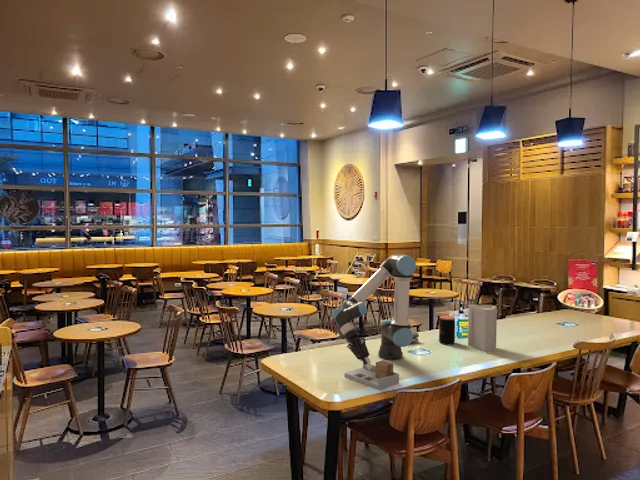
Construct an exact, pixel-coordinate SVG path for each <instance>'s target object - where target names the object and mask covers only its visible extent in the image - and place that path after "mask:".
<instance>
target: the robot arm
mask: <svg viewBox="0 0 640 480" xmlns="http://www.w3.org/2000/svg"><path fill="white" fill-rule="evenodd" d="M416 269H417V263H416V260H415V259H414V257H412V256H410V255H408V254H400V253H393V254H391V255H390V256H388V257H387V258H386V259H385V260H383V262H382V263H381V264H380V265H379V268H378V269H377V271H375V272H374V274H372V275H371V276H370V278H369V279H367V281H365V283H364V284H363V285H362V286H360V287H359V288H358V289H357V291H355V293H354V294H353V295H352V296H350V297H349V298H348V299H346V300H343V302H342V304H341V307H336V308H335V309H334V310H333V311H332V317H333V319H334V321H335V323H336V324H337V326H338V327H339V330H340V331H341V333H342V334H343V336H344V338H345V340H346V342H348V344H347V345H346V348H348V349H349V350H350V352H351V353H352V354H353V355H354V356H355V357H356V359H357V360H359V361H360V362H361V361H362V364H363V363H364V364H365V365H366V367H367V369H368V370H371V369H372V368H373V366H372V365H373V364H372V363H371V360H370V358H369V356H370V352H369V350H368V347H367V343H366V340H365V339H363V340H362V338H360V337H359V333H358V331H357V330H356V328H355V326H354V324H353V323H352V321H354V320H357V319H358V318H360V317H362V316H364V315H365V314H367V313H368V308H367V306H366V303H365V301H366V300H367V299H368V298H369V297H370V296H371V295H373V293H374V292H375V291H376V290H377V289H378V288H379V287H380V286H381V285H383V283H384V282H386V280H388V279H389V278H391V277H392V278H393V279H394V295H393V296H394V301H393V319H384V320H383V319H382V321H381V322H380V323H381V325H380V327H381V328H380V330H381V331H380V335H381V336H380V341H381V343H380V346H379V350H378V353H377V354H378V355H377V356H378V357H379V358H380V359H383V360H389V361H391V360H393V361H396V360H401V359H402V358H403V357H404V353H403V351H402V348H406V347H407V346H409V345H410V344H412V343H411V342H412V340H413V333H412V331H413V330H411V322H410V321H409V305H410V304H409V303H410V282H411V280H412V279H413V275H414V273H415V272H416Z"/></svg>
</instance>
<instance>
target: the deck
mask: <svg viewBox="0 0 640 480" xmlns="http://www.w3.org/2000/svg"><path fill="white" fill-rule="evenodd" d="M371 365H372V366H373V368H372V369H371V370H368V369H367V367H366V365H365V364H364V363H363V362H362V368H357V369H352V370H350V371H346V372H344V377H345V378H348V379H350V380H352V381H353V380H354V381H355V382H358V383H361V384H363V385H365V386H369V387H371V388H373V389H377V390H383V389H386V388H389V387H392V386H396V385H398V384H400V373H398V372H394V371H393V375H391V376H388V377H384V378H381V379H379V378H376V365H374V364H371Z"/></svg>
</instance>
